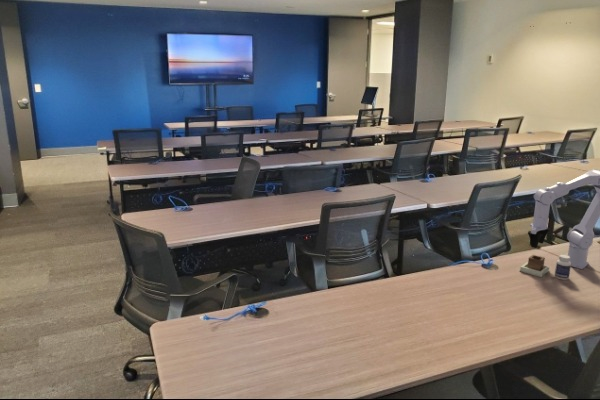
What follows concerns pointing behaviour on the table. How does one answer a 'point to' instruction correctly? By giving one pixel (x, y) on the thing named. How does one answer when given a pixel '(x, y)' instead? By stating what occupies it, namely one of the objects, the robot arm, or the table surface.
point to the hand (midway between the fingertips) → (537, 244)
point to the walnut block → (536, 262)
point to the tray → (534, 272)
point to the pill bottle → (563, 267)
